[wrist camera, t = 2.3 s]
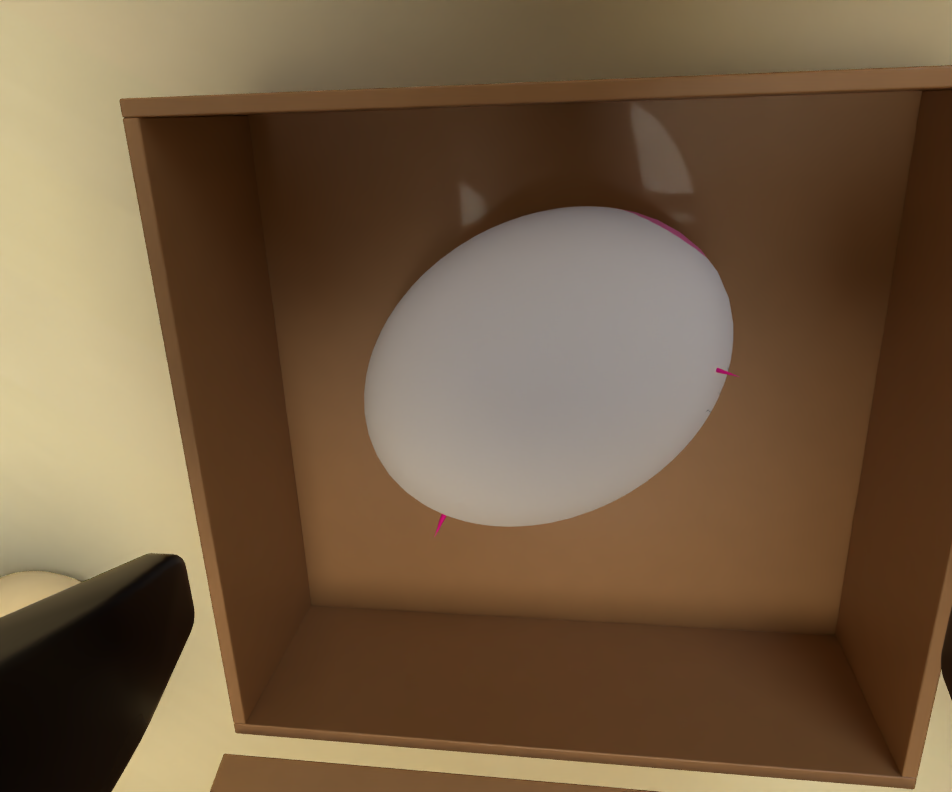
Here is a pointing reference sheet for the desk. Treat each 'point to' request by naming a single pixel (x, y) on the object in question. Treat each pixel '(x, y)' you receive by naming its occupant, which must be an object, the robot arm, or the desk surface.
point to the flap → (365, 779)
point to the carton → (624, 520)
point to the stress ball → (548, 366)
